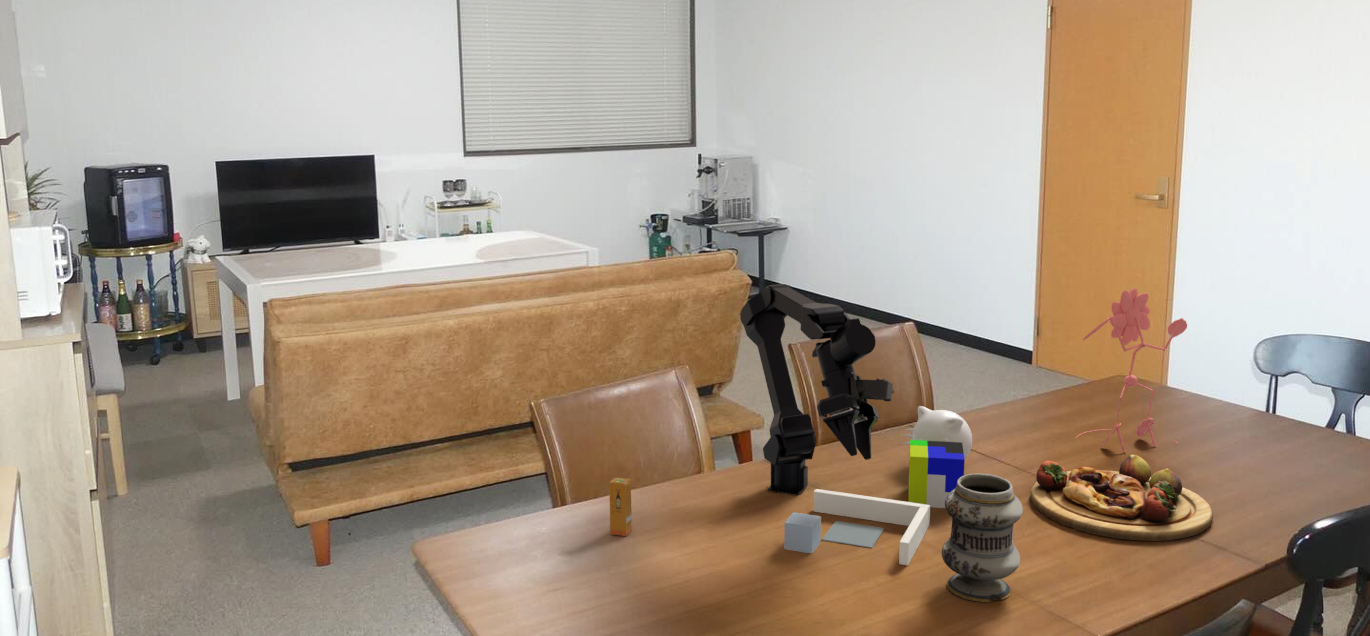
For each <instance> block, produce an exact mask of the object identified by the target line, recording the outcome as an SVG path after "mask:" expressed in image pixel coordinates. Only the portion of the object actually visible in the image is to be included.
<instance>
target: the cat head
mask: <svg viewBox="0 0 1370 636" xmlns="http://www.w3.org/2000/svg"><path fill="white" fill-rule="evenodd" d="M917 416H918V417H917V418H918V419H917V422H916V423H915V424H914V427H912V428H905V429H903V431H910V432H912V434H911V433H910V434H909V433H901V435H902V436H904V437H909V438H911V440H924V441H943V442H961V443H962V445H963V452H964V459H965V460H966V458H968V456H969V454H970V452H971V449H972V447H973V446H972V445H973V435H972V430H971V428H970V426H969V425H968V422H967V421H966V420H965V419H964V418H963V417H962V416H961V415H959V414H958V413H955V412H954V411H950V410H947V409H936V410H932V409H929V408H927V407H925V406H923V405H919V406H918V407H917ZM900 445H910V441H904V442H901V443H900Z"/></svg>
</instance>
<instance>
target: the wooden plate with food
mask: <svg viewBox="0 0 1370 636" xmlns="http://www.w3.org/2000/svg"><path fill="white" fill-rule="evenodd" d="M1119 466H1120V467H1119V468H1118V471H1117V470H1116V471H1115V470H1100V469H1095V468H1094V467H1089V466H1079V467H1077V468H1073V469H1071V470H1068V471H1066V469H1065V468H1064V467H1063V466H1061V464H1059V463H1057V462H1055V461H1052V460H1046V461H1043V462H1042V463H1040V465H1039V467H1038V468H1037V470H1036V477H1035V479H1036V482H1035V483H1034V484H1033V485H1032V486H1031V489H1030V495H1029V496H1030V500H1031V501H1032V503H1033V505H1034V507H1035V508H1036V509H1037V510H1038V511H1039V512H1041V514H1043V515H1044V516H1046V517H1047V518H1049V519H1051V520H1052V521H1054V522H1057V523H1059V524H1061V525H1063V526H1066V527H1069V528H1072V529H1075V530H1078V531H1080V532H1084V533H1089V534H1093V535H1097V536H1100V537H1101V536H1102V537H1106V538H1112V539H1118V540H1119V539H1120V540H1127V541H1128V540H1129V541H1141V542H1143V541H1144V542H1145V541H1146V542H1148V541H1149V542H1154V541H1156V542H1158V541H1159V542H1161V541H1164V542H1165V541H1174V540H1178V539H1179V540H1180V539H1184V538H1185V539H1186V538H1188V537H1192V536H1196V535H1198V534H1200V533H1202V532H1203V531H1205V530H1206V529H1207V528H1209V527H1210V526H1211V524H1212V522H1213V518H1214V512H1213V510H1212V507H1211V505H1210V504H1209V503H1208V502H1207V501H1206V500H1205V499H1204V498H1203V497H1202V496H1200V495H1199V494H1198V493H1195V492H1194V491H1192V490H1190V489H1188V488H1185V487H1183V484H1182V481H1181V478H1180V477H1179V476H1178V475H1177V473H1175V472H1173V471H1172V470H1171V469H1170V468H1167V467H1166V468H1163V469H1161V470H1157V471H1156V472H1154V473H1153V474H1152V470H1151V467H1150V465H1149V464H1148V462H1147V461H1146V460H1145V459H1143V458H1142V457H1141V456H1139V455H1137V454H1130V455H1129V456H1127V457H1126V458H1125V459H1123V460H1122V462H1121V463H1120V465H1119Z"/></svg>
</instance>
